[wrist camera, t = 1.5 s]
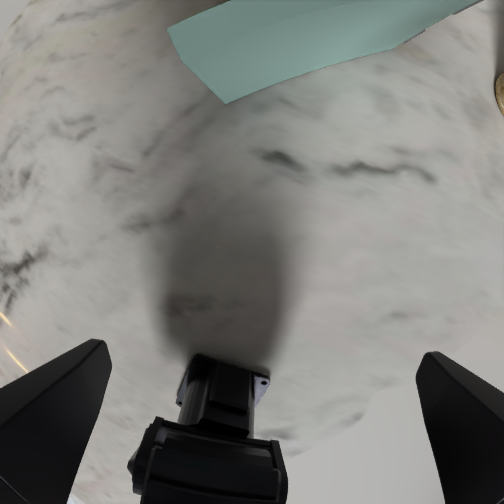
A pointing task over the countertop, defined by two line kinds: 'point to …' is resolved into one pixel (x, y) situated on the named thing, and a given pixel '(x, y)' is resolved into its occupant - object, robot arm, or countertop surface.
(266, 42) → the door
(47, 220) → the countertop surface
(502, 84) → the sprinkles bottle
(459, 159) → the countertop surface
